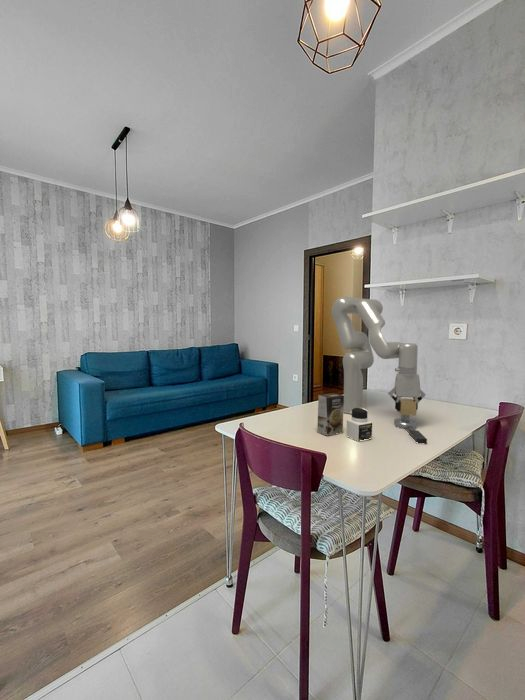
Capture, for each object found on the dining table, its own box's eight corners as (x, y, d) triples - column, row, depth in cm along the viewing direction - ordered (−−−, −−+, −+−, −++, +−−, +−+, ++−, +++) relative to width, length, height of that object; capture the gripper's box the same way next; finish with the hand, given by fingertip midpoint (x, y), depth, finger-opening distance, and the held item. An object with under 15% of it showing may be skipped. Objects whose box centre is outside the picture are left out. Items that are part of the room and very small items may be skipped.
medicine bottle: (358, 442, 129) (359, 412, 128) (346, 436, 135) (346, 407, 134) (372, 439, 132) (373, 409, 131) (359, 434, 139) (360, 405, 138)
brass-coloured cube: (400, 414, 146) (401, 401, 146) (396, 411, 152) (397, 398, 152) (416, 415, 145) (416, 401, 145) (411, 411, 152) (411, 398, 151)
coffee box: (327, 436, 135) (328, 397, 134) (316, 432, 140) (317, 394, 139) (343, 433, 140) (344, 395, 138) (332, 428, 145) (333, 392, 144)
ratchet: (409, 443, 128) (410, 427, 128) (392, 422, 155) (392, 409, 154) (434, 444, 127) (434, 428, 127) (412, 423, 153) (412, 410, 153)
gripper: (389, 371, 145) (388, 412, 146) (431, 372, 143) (429, 413, 144) (385, 369, 152) (384, 408, 154) (425, 370, 150) (423, 409, 151)
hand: (406, 410), depth 149 cm, fingers closed on brass-coloured cube, 6 cm apart
